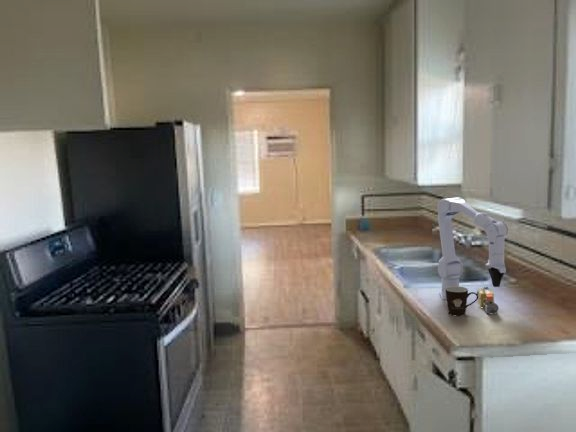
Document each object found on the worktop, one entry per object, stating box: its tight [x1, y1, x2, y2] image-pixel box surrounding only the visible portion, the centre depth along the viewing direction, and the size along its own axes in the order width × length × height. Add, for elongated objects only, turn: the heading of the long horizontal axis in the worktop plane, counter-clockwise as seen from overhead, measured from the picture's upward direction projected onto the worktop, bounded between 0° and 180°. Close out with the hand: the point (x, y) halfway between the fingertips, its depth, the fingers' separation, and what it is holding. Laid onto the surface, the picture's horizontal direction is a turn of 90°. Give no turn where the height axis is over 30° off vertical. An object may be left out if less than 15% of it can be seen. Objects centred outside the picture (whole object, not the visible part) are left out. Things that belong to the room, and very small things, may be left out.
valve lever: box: [482, 286, 493, 301], centre depth 206 cm, size 14×3×2 cm, turn 166°
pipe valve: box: [476, 288, 499, 315], centre depth 210 cm, size 20×5×6 cm, turn 172°
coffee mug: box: [445, 285, 478, 317], centre depth 204 cm, size 12×9×10 cm
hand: (496, 286), depth 204 cm, fingers closed
